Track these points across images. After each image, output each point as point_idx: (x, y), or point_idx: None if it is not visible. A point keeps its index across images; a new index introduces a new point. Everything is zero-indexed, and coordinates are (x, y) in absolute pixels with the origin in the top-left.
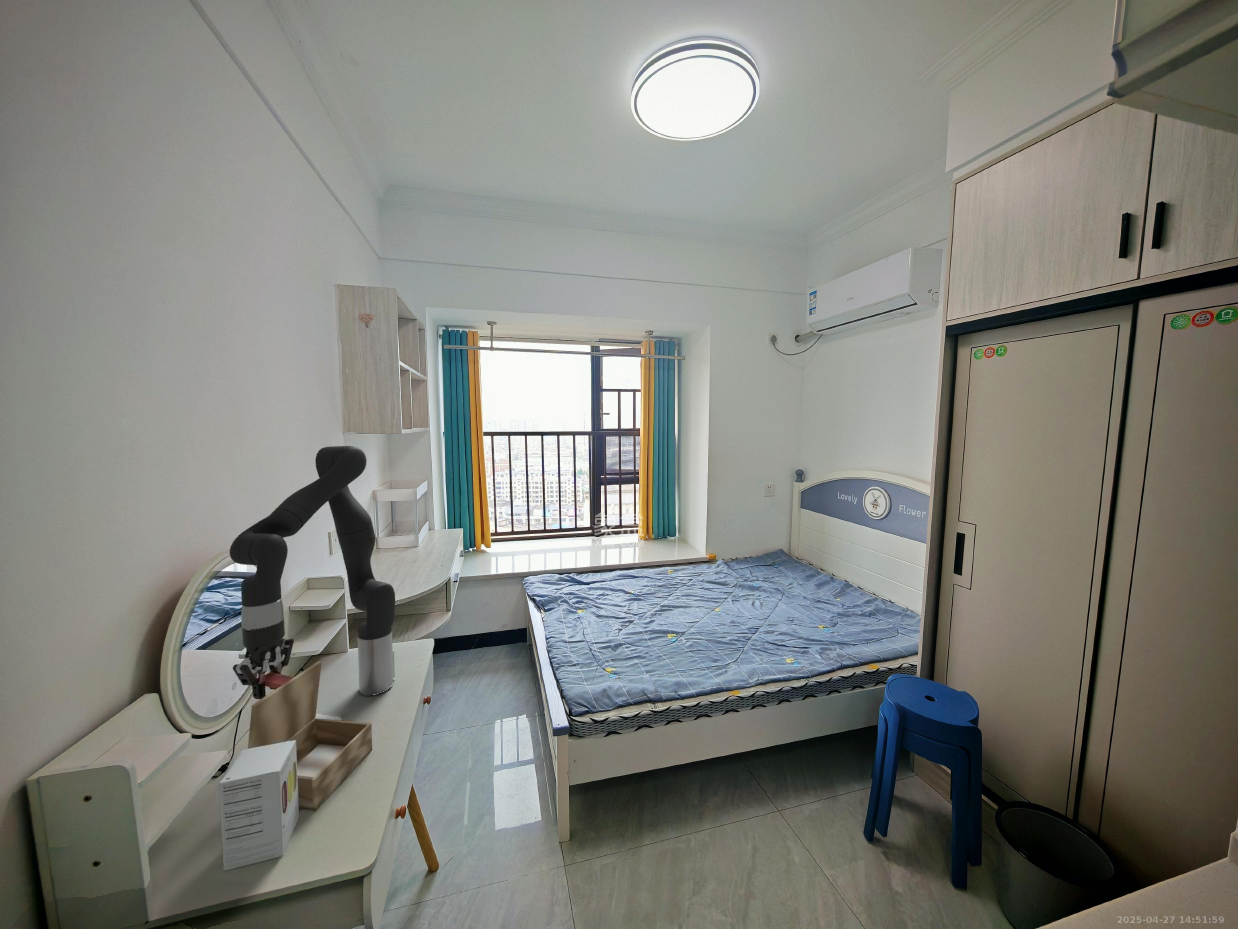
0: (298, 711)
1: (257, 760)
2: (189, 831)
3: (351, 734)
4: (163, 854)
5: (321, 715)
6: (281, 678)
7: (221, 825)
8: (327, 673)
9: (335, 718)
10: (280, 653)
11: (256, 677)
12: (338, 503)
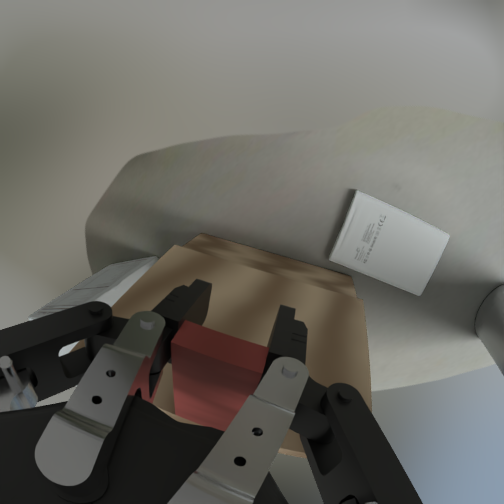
0: None
1: (61, 354)
2: (155, 172)
3: None
4: (125, 168)
5: (440, 251)
6: (215, 412)
7: (71, 288)
8: None
9: (420, 286)
10: (345, 467)
11: (158, 345)
12: None
